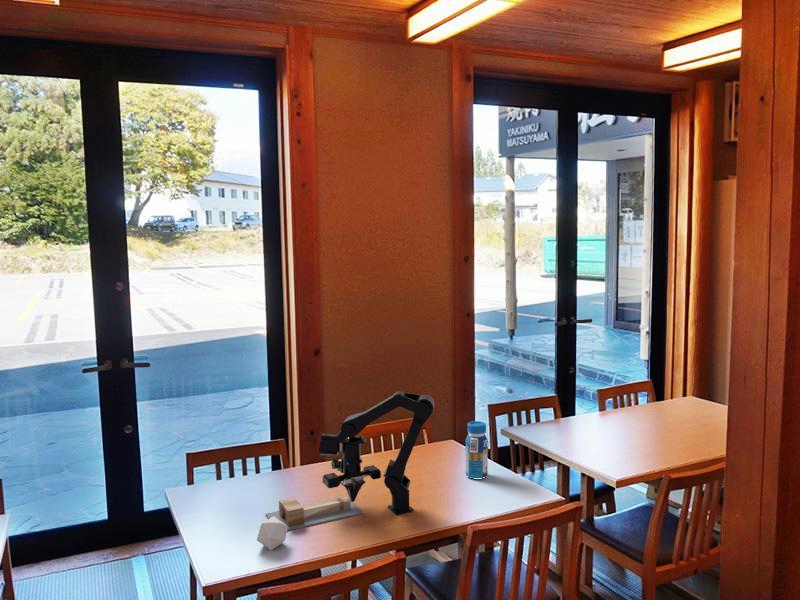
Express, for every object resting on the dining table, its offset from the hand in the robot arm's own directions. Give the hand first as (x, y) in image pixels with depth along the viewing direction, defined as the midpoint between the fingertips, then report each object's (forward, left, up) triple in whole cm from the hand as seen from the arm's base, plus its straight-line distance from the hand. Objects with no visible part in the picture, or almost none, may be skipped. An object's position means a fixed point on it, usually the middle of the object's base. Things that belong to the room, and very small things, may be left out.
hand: (352, 501), depth 216 cm
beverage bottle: (+3, -51, -2) cm, 51 cm away
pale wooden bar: (0, +10, -2) cm, 11 cm away
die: (-13, +31, -2) cm, 34 cm away
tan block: (0, +21, -2) cm, 21 cm away
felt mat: (+1, +13, -2) cm, 13 cm away
